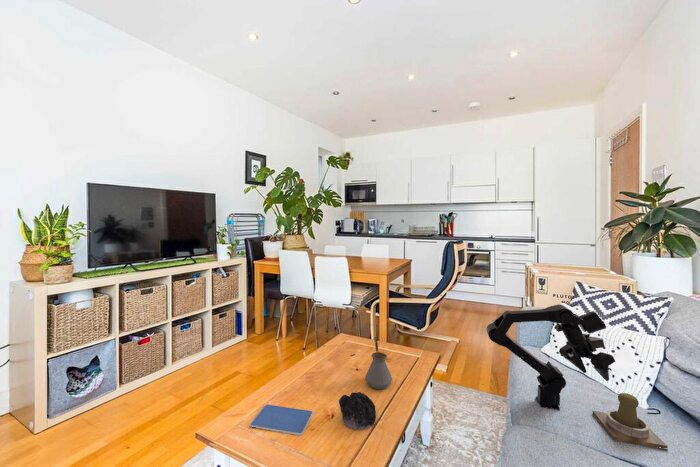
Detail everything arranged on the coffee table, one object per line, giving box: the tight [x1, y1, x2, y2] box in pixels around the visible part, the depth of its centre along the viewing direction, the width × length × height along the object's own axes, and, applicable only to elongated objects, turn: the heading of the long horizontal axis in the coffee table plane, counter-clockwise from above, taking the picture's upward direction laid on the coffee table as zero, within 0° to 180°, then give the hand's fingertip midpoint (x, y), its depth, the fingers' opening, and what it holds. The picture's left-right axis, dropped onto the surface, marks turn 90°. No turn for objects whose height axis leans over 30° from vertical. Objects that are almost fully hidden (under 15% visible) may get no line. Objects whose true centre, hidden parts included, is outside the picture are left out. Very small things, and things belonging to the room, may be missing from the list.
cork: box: [615, 392, 640, 429], centre depth 103 cm, size 6×6×11 cm
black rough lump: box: [338, 391, 377, 431], centre depth 108 cm, size 13×14×10 cm
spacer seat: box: [592, 409, 669, 449], centre depth 103 cm, size 14×14×4 cm
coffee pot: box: [365, 336, 393, 390], centre depth 135 cm, size 21×12×15 cm, turn 0°
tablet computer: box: [249, 404, 314, 437], centre depth 107 cm, size 19×13×1 cm, turn 78°
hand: (596, 376), depth 113 cm, fingers open, 9 cm apart
